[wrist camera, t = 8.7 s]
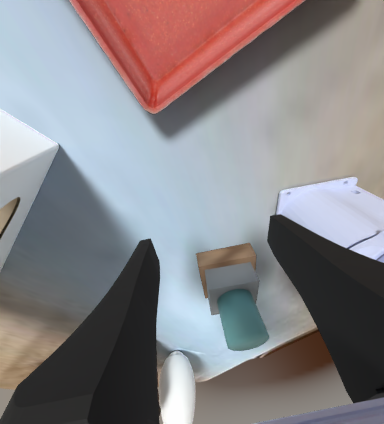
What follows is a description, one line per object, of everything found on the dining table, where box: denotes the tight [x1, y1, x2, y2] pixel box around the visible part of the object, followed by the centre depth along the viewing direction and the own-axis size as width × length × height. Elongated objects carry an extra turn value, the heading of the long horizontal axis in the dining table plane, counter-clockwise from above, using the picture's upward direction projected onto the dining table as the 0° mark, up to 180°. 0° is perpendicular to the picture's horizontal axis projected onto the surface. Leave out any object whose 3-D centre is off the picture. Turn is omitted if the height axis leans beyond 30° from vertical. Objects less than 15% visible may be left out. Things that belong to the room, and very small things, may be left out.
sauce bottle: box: [159, 351, 195, 424], centre depth 38 cm, size 8×8×18 cm
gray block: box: [205, 262, 259, 315], centre depth 26 cm, size 6×6×3 cm
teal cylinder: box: [217, 289, 269, 351], centre depth 22 cm, size 5×5×5 cm
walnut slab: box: [196, 243, 256, 298], centre depth 28 cm, size 8×8×3 cm
